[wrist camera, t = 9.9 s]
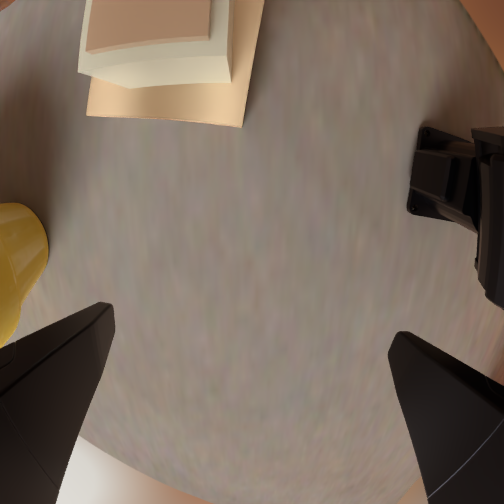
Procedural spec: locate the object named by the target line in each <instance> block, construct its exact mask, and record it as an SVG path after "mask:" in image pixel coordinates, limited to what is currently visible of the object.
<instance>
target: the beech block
mask: <svg viewBox="0 0 504 504" xmlns="http://www.w3.org/2000/svg"><path fill="white" fill-rule="evenodd" d="M264 1H265V0H235V6H234V27H233V51H232V79H231V83H196V84H176V85H162V86H150V87H140V88H132V89H128V88H125V87H122V86H120V85H117V84H114V83H111V82H108V81H105V80H102V79H98V78H95V77H92V79H91V85H90V91H89V98H88V105H87V113H86V116H100V117H128V118H149V119H165V120H177V121H188V122H199V123H208V124H216V125H224V126H232V127H239V128H242V123H243V117H244V111H245V105H246V99H247V93H248V87H249V81H250V76H251V70H252V64H253V59H254V53H255V48H256V42H257V37H258V32H259V26H260V21H261V16H262V11H263V6H264Z"/></svg>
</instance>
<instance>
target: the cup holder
mask: <svg viewBox="0 0 504 504" xmlns="http://www.w3.org/2000/svg"><path fill="white" fill-rule="evenodd" d="M14 1H15V0H0V11H1V10H3V9H4V8H6V7H7V6H9V5H10V4H11V3H13V2H14Z"/></svg>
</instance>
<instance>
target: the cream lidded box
mask: <svg viewBox="0 0 504 504" xmlns="http://www.w3.org/2000/svg"><path fill="white" fill-rule="evenodd" d="M234 6H235V0H87V2H86V7H85V13H84V19H83V26H82V34H81V42H80V51H79V62H78V72H79V73H82V74H86V75H89V76H92V77H95V78H98V79H102V80H105V81H108V82H111V83H114V84H117V85H120V86H122V87H125V88H128V89H132V88H140V87H150V86H162V85H176V84H196V83H231V79H232V51H233V27H234Z"/></svg>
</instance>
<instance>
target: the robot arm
mask: <svg viewBox="0 0 504 504" xmlns="http://www.w3.org/2000/svg"><path fill="white" fill-rule="evenodd" d="M425 131H427V136H425V133H424V132H425ZM471 132H472V138H474V143H471V142H469V141H466V140H464V139H461V138H459V137H456V136H453V135H451V134H448V133H445V132H442V131H439V130H436V129H433V128H431V127H425V126H423V127H421V128H420V130H419V135H418V143H417V150H416V152H415V156H414V162H413V169H412V175H411V180H410V186H411V187H410V192H409V197H408V202H407V211H408V212H409V213H411V214H413V215H418V216H424V217H430V218H435V219H441V220H446V221H451V222H456V223H458V224H460V225H462V226H464V227H466V228H467V229H469V230H471V231H473V232H475V233H477V234H478V240H477V257H476V258H475V265H474V267H475V268H476V270H477V272H478V280H479V282H480V283H481V285H482V286H483V288H484V289H485V296H486V298H487V299H488V300H490V301H491V302H492V303H494V304H495V305H496V306H498V307H500V308H502V309H503V310H504V127H486V128H472V129H471ZM413 205H415V208H414V209H413V210H412V207H413ZM114 334H115V319H114V309H113V305H112V304H110V303H105V302H98V303H96V304H94V305H92V306H89V307H87V308H85V309H83V310H81V311H79V312H76V313H74V314H72V315H70V316H68V317H66V318H64V319H61V320H59V321H57V322H55V323H53V324H51V325H49V326H46V327H44V328H42V329H40V330H38V331H36V332H34V333H32V334H30V335H27V336H25V337H23V338H21V339H19V340H17V341H16V342H13V343H11V344H8V345H6V346H4V347H2V348H0V504H56V501H57V497H58V494H59V490H60V487H61V484H62V481H63V477H64V474H65V471H66V468H67V465H68V462H69V459H70V456H71V454H72V451H73V448H74V445H75V442H76V440H77V437H78V434H79V431H80V429H81V426H82V423H83V421H84V418H85V416H86V413H87V411H88V408H89V405H90V403H91V400H92V398H93V396H94V393H95V391H96V388H97V386H98V383H99V381H100V379H101V376H102V373H103V370H104V367H105V364H106V360H107V357H108V353H109V350H110V347H111V344H112V340H113V337H114ZM388 360H389V364H390V368H391V372H392V376H393V381H394V385H395V389H396V393H397V396H398V400H399V403H400V406H401V409H402V412H403V415H404V418H405V421H406V424H407V427H408V430H409V434H410V437H411V440H412V444H413V447H414V450H415V454H416V457H417V461H418V464H419V468H420V472H421V476H422V479H423V483H424V486H425V491H426V495H427V498H428V499H427V500H428V504H504V386H503V385H501V384H499V383H497V382H496V381H494V380H492V379H490V378H489V377H487V376H485V375H483V374H482V373H480V372H478V371H477V370H475V369H473V368H471V367H470V366H468V365H466V364H465V363H463V362H461V361H459V360H458V359H456V358H454V357H452V356H451V355H449V354H447V353H446V352H444V351H442V350H440V349H439V348H437V347H435V346H433V345H432V344H430V343H428V342H426V341H425V340H423V339H421V338H420V337H418V336H416V335H414V334H413V333H411V332H408V331H399V332H397V334H396V335H395V337H394V340H393V342H392V344H391V346H390V349H389V351H388Z"/></svg>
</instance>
